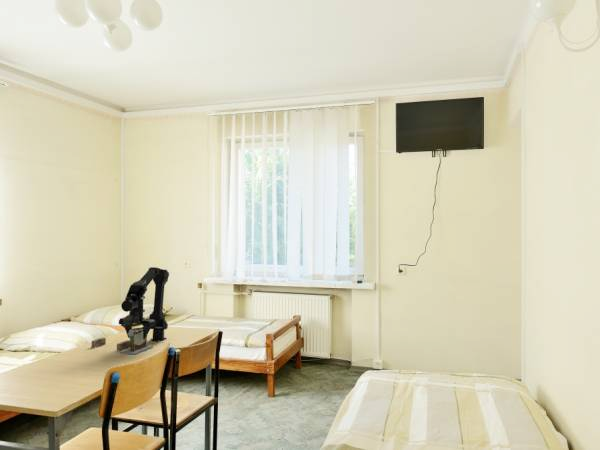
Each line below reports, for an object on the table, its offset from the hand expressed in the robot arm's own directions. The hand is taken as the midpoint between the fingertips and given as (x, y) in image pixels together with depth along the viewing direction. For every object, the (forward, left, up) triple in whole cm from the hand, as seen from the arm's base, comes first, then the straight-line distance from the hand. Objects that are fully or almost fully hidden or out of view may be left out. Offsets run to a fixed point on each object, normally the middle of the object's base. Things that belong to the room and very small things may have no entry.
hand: (136, 338), depth 234 cm
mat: (0, 0, -6) cm, 6 cm away
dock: (0, -16, -6) cm, 17 cm away
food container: (-1, -1, -6) cm, 6 cm away
